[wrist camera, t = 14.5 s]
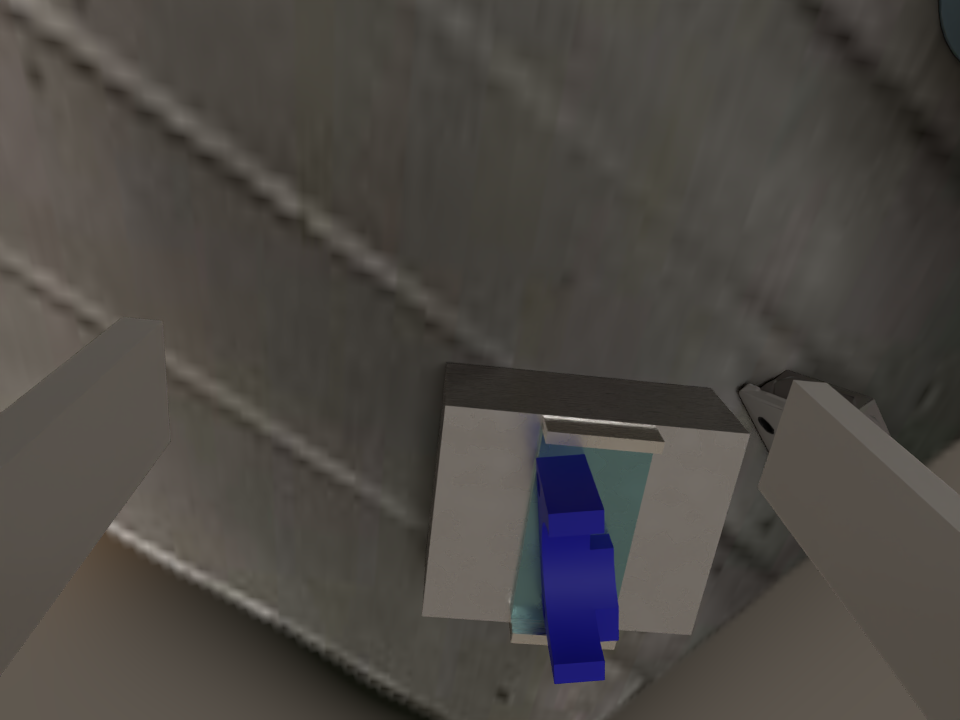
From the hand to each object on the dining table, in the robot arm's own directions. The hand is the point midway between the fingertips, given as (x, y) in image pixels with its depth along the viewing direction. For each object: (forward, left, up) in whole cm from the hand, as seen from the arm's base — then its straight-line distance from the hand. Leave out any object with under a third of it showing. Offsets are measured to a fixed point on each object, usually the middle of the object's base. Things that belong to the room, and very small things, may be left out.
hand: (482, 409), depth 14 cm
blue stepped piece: (+9, -20, -24) cm, 32 cm away
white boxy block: (+10, -20, -31) cm, 38 cm away
